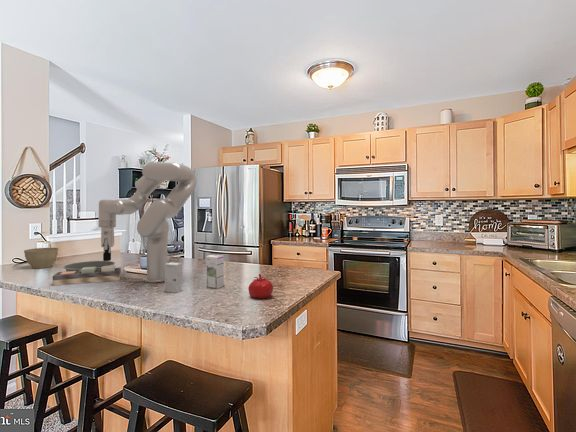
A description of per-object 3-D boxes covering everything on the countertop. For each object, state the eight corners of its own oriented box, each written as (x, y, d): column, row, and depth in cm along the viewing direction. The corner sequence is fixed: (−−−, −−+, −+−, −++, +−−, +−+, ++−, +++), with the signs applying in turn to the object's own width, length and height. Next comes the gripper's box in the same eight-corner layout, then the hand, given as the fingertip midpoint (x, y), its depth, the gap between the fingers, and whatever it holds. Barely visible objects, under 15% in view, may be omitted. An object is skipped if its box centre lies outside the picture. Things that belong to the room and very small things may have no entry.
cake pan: (77, 279, 158) (77, 270, 158) (54, 273, 171) (54, 265, 170) (124, 270, 179) (124, 263, 179) (101, 266, 192) (101, 259, 191)
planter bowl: (17, 269, 181) (16, 250, 181) (43, 264, 197) (42, 247, 197) (40, 270, 178) (40, 251, 178) (65, 265, 194) (64, 247, 194)
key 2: (115, 269, 161) (115, 265, 161) (114, 271, 156) (114, 267, 156) (102, 269, 159) (102, 266, 159) (101, 272, 154) (101, 268, 153)
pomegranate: (263, 302, 120) (263, 278, 120) (243, 297, 125) (243, 275, 125) (277, 295, 129) (277, 273, 128) (258, 291, 134) (258, 270, 133)
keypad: (120, 276, 164) (120, 267, 164) (119, 280, 155) (118, 271, 155) (58, 281, 153) (58, 271, 153) (52, 285, 144) (52, 276, 144)
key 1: (76, 275, 154) (76, 271, 154) (73, 277, 149) (73, 273, 149) (62, 276, 152) (62, 271, 152) (59, 278, 147) (59, 274, 147)
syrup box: (224, 286, 144) (224, 254, 143) (216, 289, 138) (216, 256, 138) (214, 284, 146) (214, 253, 146) (206, 287, 141) (206, 255, 140)
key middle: (96, 270, 157) (96, 266, 157) (94, 272, 152) (94, 268, 152) (83, 271, 155) (83, 267, 155) (80, 273, 150) (80, 269, 150)
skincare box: (164, 291, 134) (163, 263, 133) (171, 289, 138) (170, 262, 138) (176, 293, 132) (175, 264, 132) (182, 290, 136) (182, 262, 136)
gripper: (114, 225, 151) (113, 262, 152) (117, 223, 165) (117, 257, 165) (96, 225, 148) (96, 263, 149) (100, 223, 162) (100, 258, 162)
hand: (107, 260), depth 157 cm, fingers closed
